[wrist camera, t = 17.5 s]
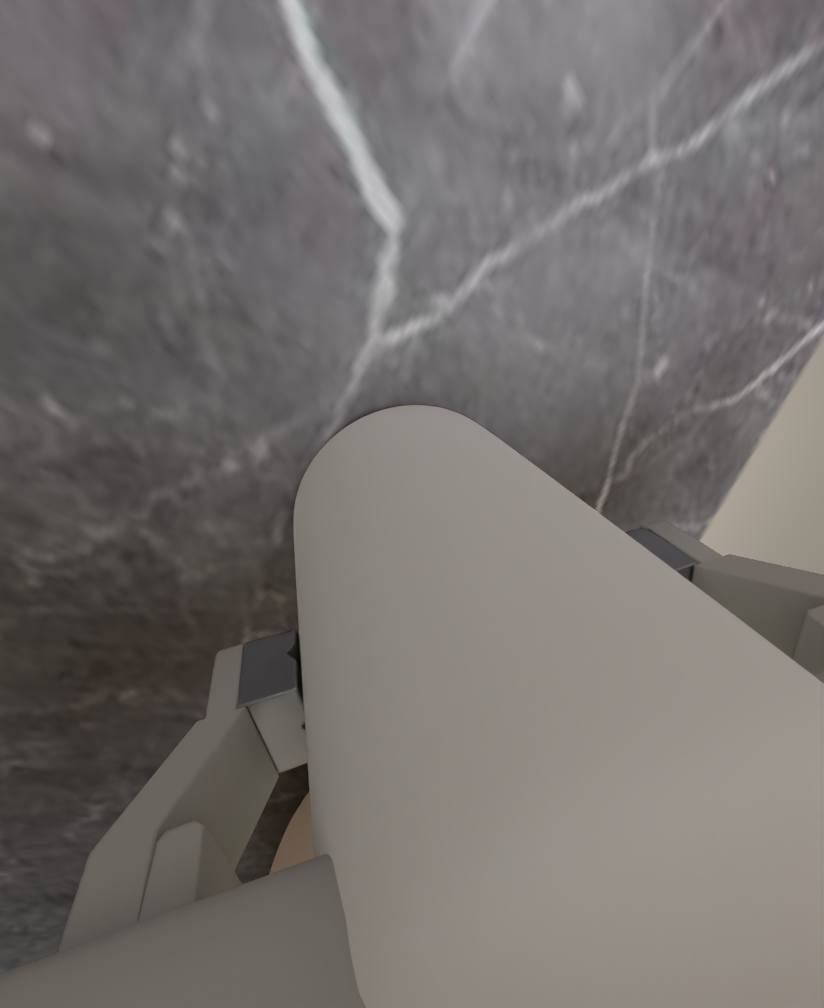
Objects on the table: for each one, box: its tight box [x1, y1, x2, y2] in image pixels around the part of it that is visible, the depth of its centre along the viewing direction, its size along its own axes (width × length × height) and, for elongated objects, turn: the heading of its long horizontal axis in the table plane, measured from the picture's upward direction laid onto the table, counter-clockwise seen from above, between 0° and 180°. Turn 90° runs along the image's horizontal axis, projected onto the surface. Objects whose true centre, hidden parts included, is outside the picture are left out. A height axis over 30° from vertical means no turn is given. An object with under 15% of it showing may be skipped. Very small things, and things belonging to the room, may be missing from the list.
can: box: [293, 405, 824, 1008], centre depth 9 cm, size 6×6×12 cm
